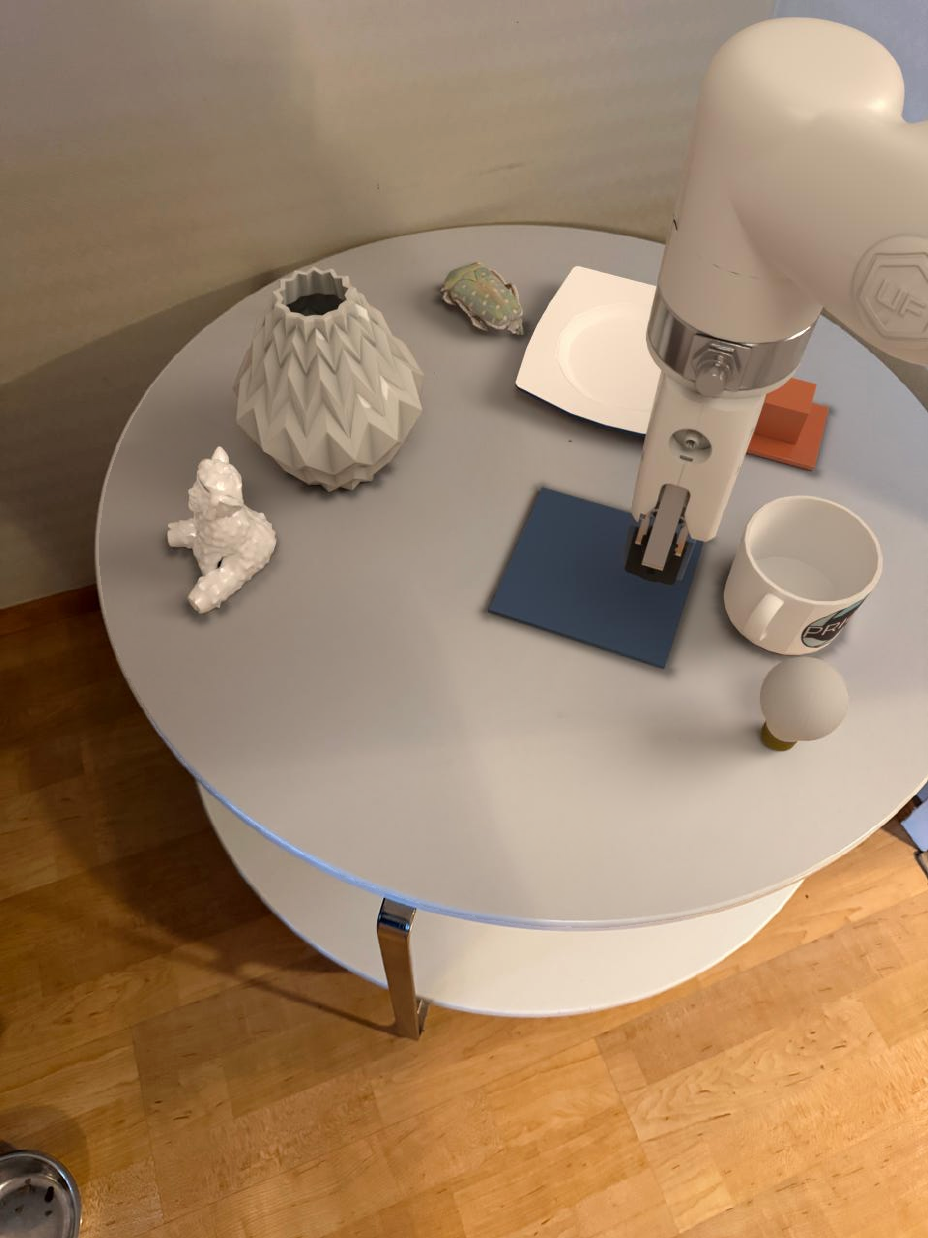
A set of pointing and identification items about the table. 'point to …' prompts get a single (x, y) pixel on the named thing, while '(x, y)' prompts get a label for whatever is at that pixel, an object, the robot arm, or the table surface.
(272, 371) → the vase
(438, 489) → the table surface
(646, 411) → the plate
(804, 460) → the terracotta tile
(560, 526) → the navy blue mat
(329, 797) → the table surface
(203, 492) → the sitting furry creature
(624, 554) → the slate block
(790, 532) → the mug
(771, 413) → the terracotta block
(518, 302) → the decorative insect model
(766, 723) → the light bulb
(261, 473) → the table surface
